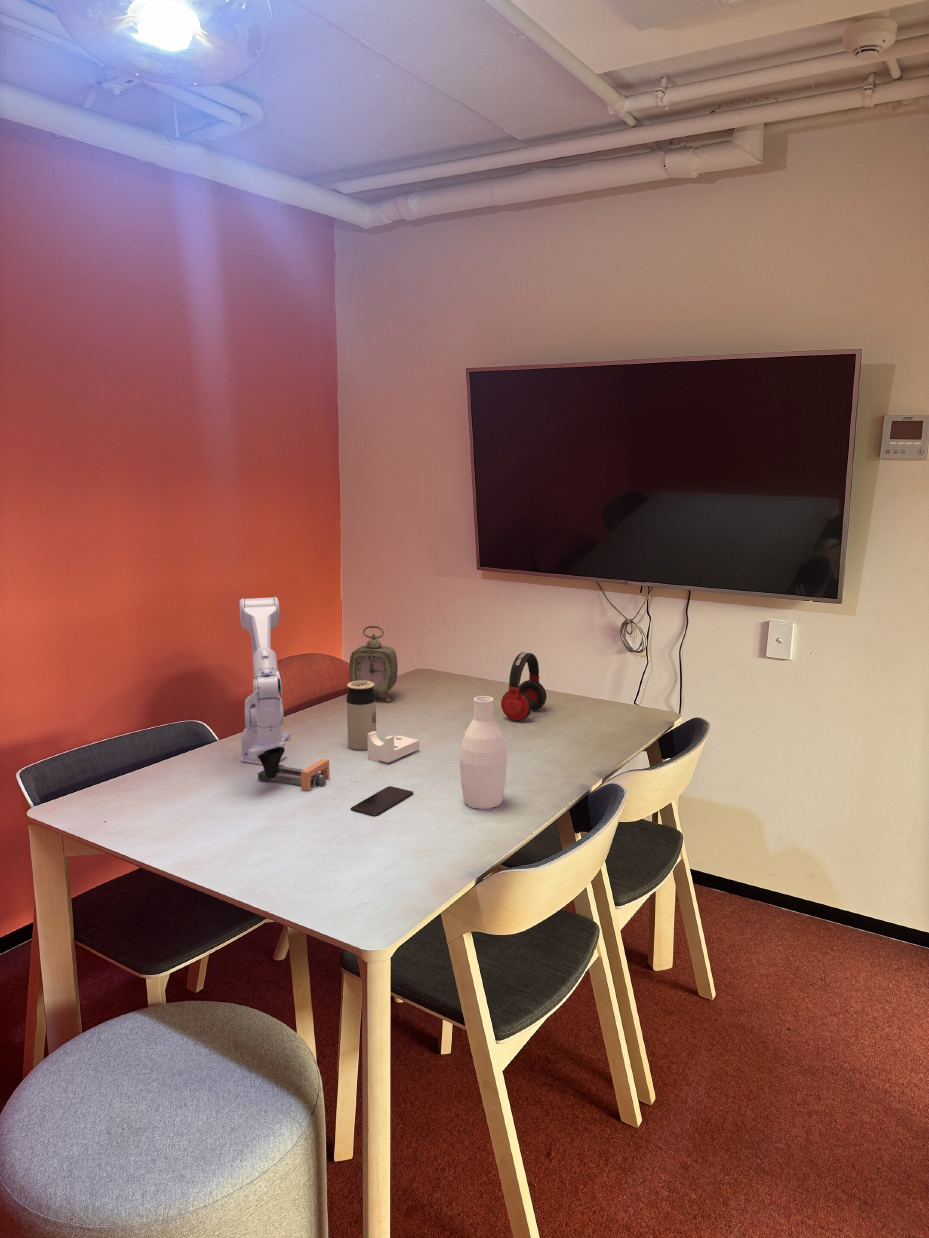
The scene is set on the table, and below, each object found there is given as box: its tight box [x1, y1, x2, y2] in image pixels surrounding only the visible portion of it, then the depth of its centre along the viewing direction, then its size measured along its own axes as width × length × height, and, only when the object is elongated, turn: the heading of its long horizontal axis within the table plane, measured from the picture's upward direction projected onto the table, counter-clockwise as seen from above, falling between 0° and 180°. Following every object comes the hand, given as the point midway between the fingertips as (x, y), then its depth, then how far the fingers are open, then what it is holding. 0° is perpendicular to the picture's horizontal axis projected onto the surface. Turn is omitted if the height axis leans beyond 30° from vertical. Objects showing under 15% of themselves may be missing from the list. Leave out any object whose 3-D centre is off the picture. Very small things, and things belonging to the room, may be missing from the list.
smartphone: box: [350, 785, 414, 818], centre depth 205 cm, size 8×1×16 cm
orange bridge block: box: [300, 758, 331, 791], centre depth 216 cm, size 2×10×4 cm, turn 157°
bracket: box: [367, 730, 420, 764], centre depth 236 cm, size 13×7×8 cm, turn 144°
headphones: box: [500, 651, 547, 722], centre depth 270 cm, size 18×10×20 cm, turn 153°
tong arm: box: [257, 770, 315, 787], centre depth 216 cm, size 14×2×2 cm, turn 71°
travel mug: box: [346, 681, 377, 751], centre depth 242 cm, size 8×8×18 cm
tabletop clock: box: [348, 625, 399, 703], centre depth 286 cm, size 14×9×25 cm, turn 81°
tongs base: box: [277, 764, 327, 788], centre depth 219 cm, size 17×4×3 cm, turn 67°
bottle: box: [459, 695, 508, 810], centre depth 202 cm, size 11×11×25 cm
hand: (271, 776), depth 213 cm, fingers closed
